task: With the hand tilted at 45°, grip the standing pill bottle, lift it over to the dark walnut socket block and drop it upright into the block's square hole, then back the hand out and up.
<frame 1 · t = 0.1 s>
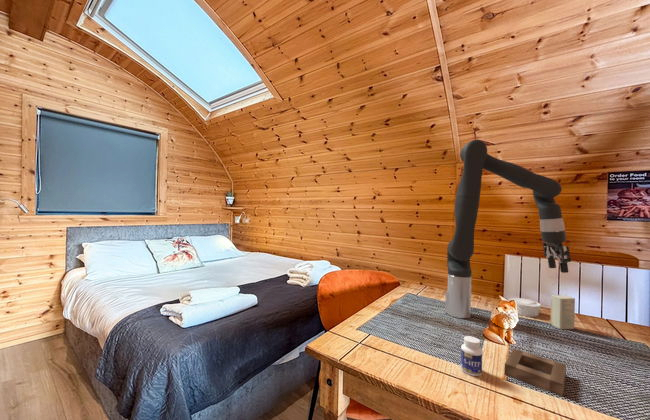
hand: (558, 270, 107), 22 cm above the table, tool pointing down, fingers open, 8 cm apart
pill bottle: (471, 371, 75), on the table
ramekin: (524, 313, 121), on the table
socket block: (535, 375, 74), on the table
skincare box: (562, 327, 106), on the table
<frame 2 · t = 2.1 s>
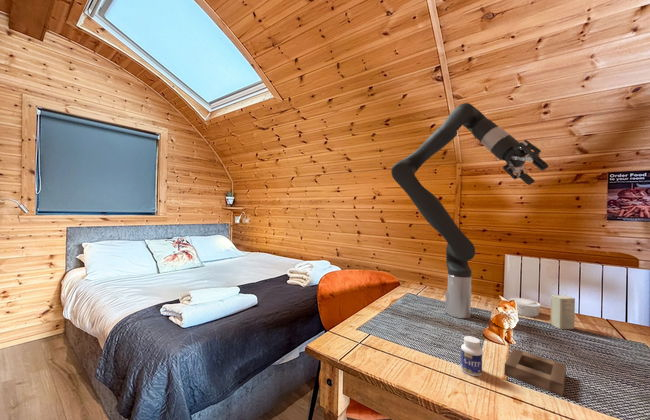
hand: (538, 176, 84), 56 cm above the table, tool tilted 40°, fingers open, 8 cm apart
nothing on the table moved.
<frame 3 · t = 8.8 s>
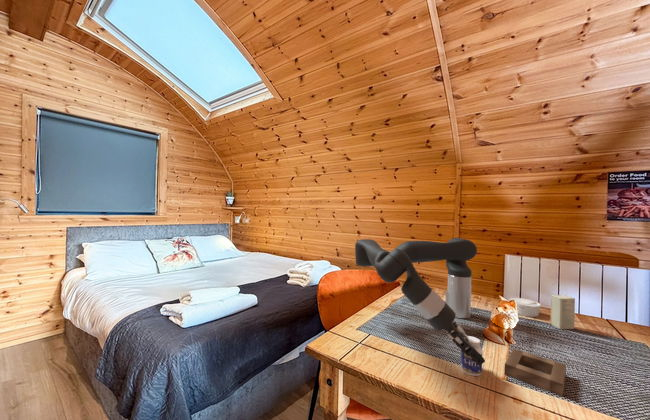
hand: (478, 356, 74), 4 cm above the table, tool tilted 45°, fingers closed on pill bottle, 5 cm apart
pill bottle: (471, 371, 75), on the table, touching gripper
everything else where it was.
when the fingers open (6 cm above the table, at t = 14.7 s): pill bottle drops 2 cm, resting in socket block.
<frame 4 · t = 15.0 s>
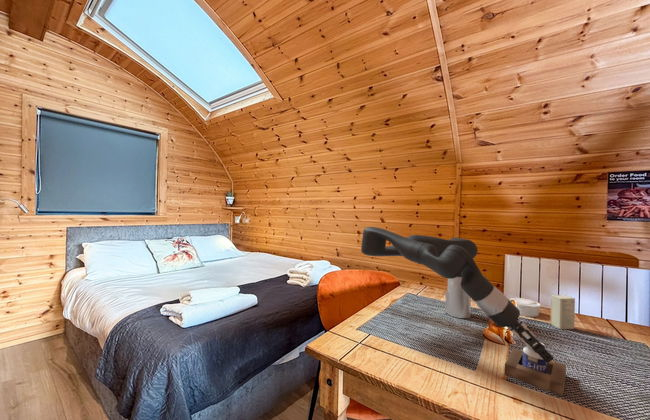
hand: (542, 352, 73), 6 cm above the table, tool tilted 45°, fingers open, 7 cm apart
pill bottle: (534, 375, 74), resting in socket block
everything else where it was.
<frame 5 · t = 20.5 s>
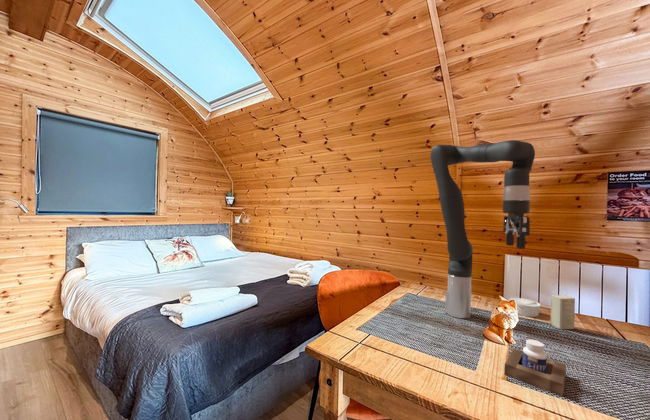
hand: (514, 246, 91), 33 cm above the table, tool pointing down, fingers open, 8 cm apart
nothing on the table moved.
at the end: pill bottle 0.3 cm off-centre on the socket block, point 0.0 cm above the socket block's base; pill bottle tilted 0°; the gripper is holding nothing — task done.
